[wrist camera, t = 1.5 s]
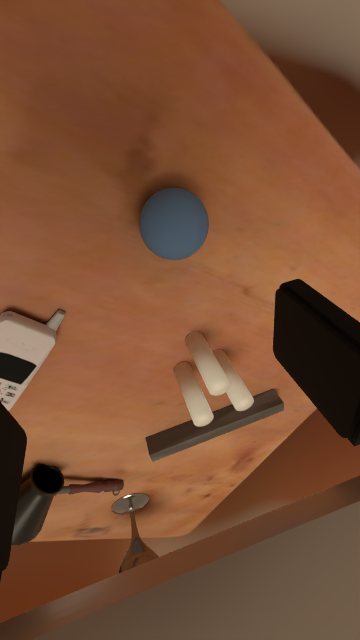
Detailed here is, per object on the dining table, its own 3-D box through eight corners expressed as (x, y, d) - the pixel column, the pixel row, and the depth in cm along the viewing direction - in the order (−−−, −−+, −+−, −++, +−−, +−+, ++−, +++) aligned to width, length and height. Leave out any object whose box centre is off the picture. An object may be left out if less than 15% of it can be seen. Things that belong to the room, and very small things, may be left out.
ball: (125, 191, 26) (136, 208, 21) (189, 173, 27) (214, 186, 22) (144, 253, 30) (157, 279, 25) (200, 236, 30) (223, 258, 26)
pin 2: (207, 352, 40) (233, 401, 33) (223, 347, 40) (253, 393, 33) (209, 365, 41) (235, 413, 35) (225, 359, 42) (254, 406, 35)
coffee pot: (-12, 496, 43) (19, 453, 42) (92, 495, 55) (118, 462, 54) (-12, 550, 38) (23, 503, 36) (103, 536, 49) (133, 501, 48)
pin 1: (172, 365, 39) (191, 417, 33) (189, 359, 40) (212, 409, 33) (175, 377, 41) (195, 429, 34) (192, 371, 41) (214, 421, 34)
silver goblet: (159, 493, 57) (181, 592, 45) (136, 516, 60) (152, 615, 48) (124, 490, 53) (137, 598, 41) (101, 514, 55) (108, 623, 44)
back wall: (145, 437, 46) (149, 455, 44) (273, 388, 49) (283, 402, 46) (149, 444, 48) (152, 461, 45) (273, 396, 50) (283, 410, 48)
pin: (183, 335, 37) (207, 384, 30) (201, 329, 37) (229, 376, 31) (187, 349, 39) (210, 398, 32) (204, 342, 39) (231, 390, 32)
